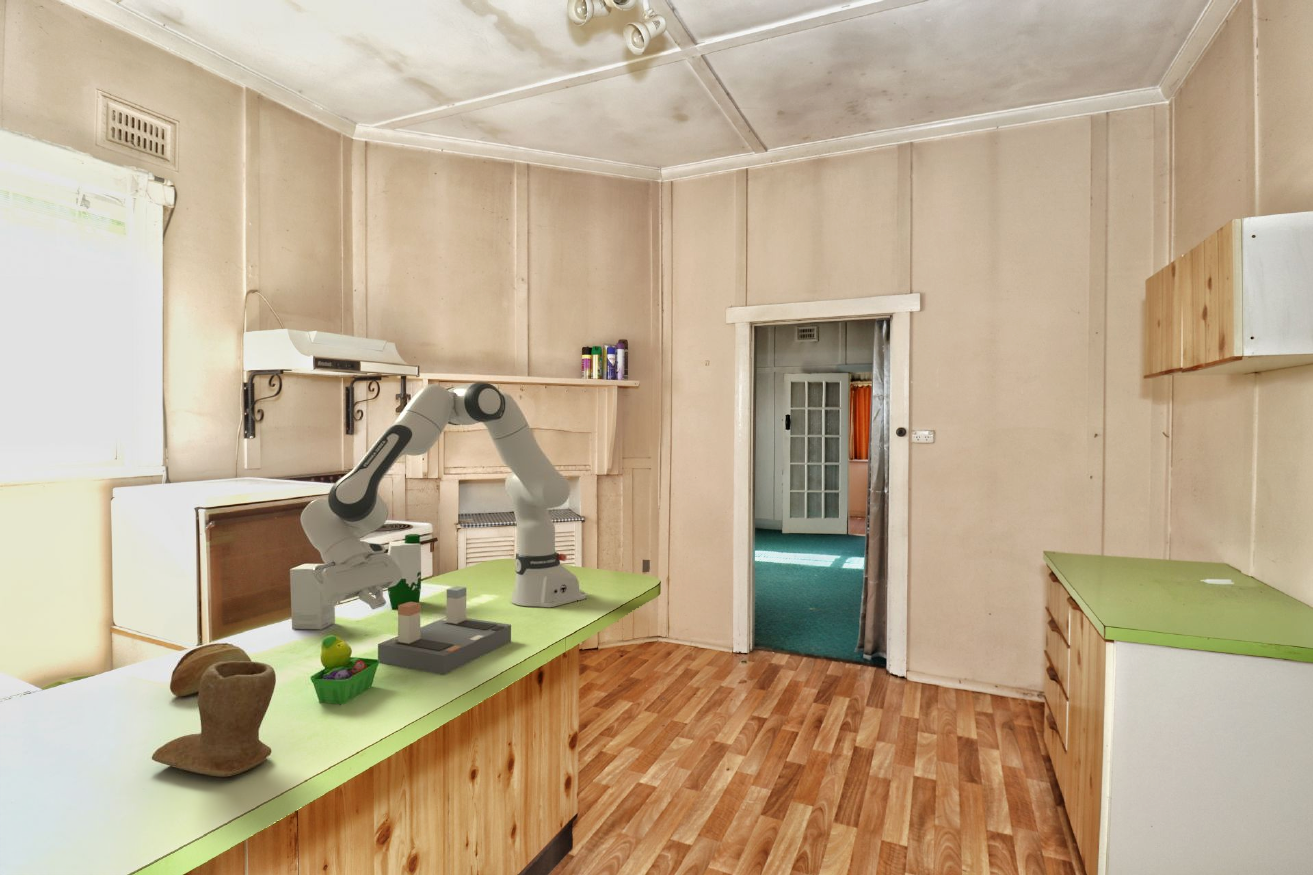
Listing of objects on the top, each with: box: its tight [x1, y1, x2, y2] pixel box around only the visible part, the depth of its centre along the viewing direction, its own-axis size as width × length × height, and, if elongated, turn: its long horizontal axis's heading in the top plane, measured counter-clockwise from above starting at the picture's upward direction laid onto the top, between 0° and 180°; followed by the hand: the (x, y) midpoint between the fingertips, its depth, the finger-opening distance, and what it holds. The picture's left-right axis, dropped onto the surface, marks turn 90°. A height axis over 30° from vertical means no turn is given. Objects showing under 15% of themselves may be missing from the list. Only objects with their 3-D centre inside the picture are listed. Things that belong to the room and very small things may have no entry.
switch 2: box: [445, 585, 467, 624], centre depth 163 cm, size 4×3×8 cm
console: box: [377, 617, 512, 676], centre depth 155 cm, size 24×18×5 cm
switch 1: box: [397, 602, 422, 644], centre depth 149 cm, size 4×3×8 cm
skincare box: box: [289, 563, 336, 631], centre depth 172 cm, size 8×7×16 cm
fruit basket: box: [309, 634, 380, 705], centre depth 130 cm, size 11×9×11 cm
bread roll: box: [169, 642, 253, 697], centre depth 133 cm, size 10×15×8 cm, turn 156°
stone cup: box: [151, 660, 277, 778], centre depth 103 cm, size 15×12×15 cm
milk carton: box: [386, 533, 422, 610], centre depth 192 cm, size 9×9×20 cm
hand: (379, 606), depth 152 cm, fingers closed
